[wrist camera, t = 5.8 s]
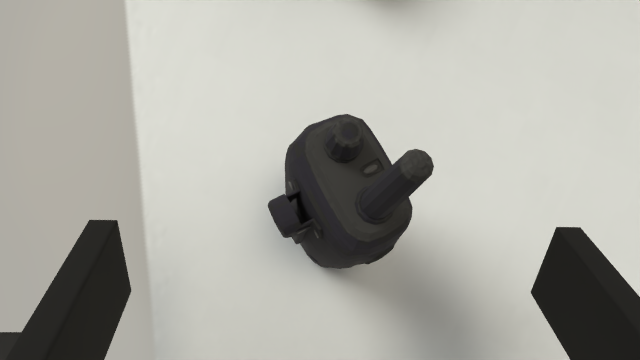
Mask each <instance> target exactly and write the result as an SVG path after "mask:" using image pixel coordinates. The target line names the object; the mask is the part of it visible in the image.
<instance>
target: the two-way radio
mask: <svg viewBox="0 0 640 360" xmlns="http://www.w3.org/2000/svg"><path fill="white" fill-rule="evenodd" d="M433 167H434V166H433V162H432V159H431V157H430V156H429V155H428V154H427V153H426V152H425V151H421V150H418V149H414V150H409V151H407V152H406V153H405V154H404V155H403V156H402V157H401V158H400V159H399V160H398V161H396V162H395V163H394V164H393V165H392V164H391V162H390V160H389V158H388V157H387V155H386V153H385V152H384V150H383V148H382V146H381V145H380V143H379V141H378V140H377V138H376V137H375V135H374V134H373V132H372V131H371V129H370V128H369V127H368V126H367V124H366V123H365V122H364V121H363V120H362V119H359V118H357V117H354V116H351V115H348V114H344V115H337V116H334V117H332V118H329V119H326V120H323V121H321V122H318V123H314V124H312V125H309V126H308V127H306V128H305V129H304V131H303V132H302V133H301V134H300V135H299V136H298V137H297V139H296V140H295V141H294V142H293V143H292V144H290V146H289V147H288V150H287V153H286V159H285V187H286V195H285V194H283V195H281V196H279V197H277V198H275V199H273V200H271V201H270V202H269V203H268V208H269V211H270V213H271V215H272V217H273V220H274V222H275V224H276V225H277V227H278V229H279V231H280V232H281V234H282V236H283V237H285V238H288V237H292V239H293V240H294V242H295V243H296V244H299V243H300V244H301V246H302V247H303V249H304V250H305V252H306V254H307V255H308V256H309V257H310V258H311V259H312V260H313V261H314V262H315V263H317V264H318V265H320V266H322V267H333V268H339V269H341V268H349V267H352V266H355V265H358V264H363V263H365V264H370V263H372V262H375V261H377V260H379V259H380V258H382V257H383V256H385V255H386V254H387V253H389V252H390V251H391V250H392V249H393V247H394V245H395V243H396V242H397V240H398V239H399V237H400V236H401V235H402V234H403V232H404V231H405V230H406V229H407V227H408V225H409V222H410V220H411V217H412V205H411V202H410V200H409V196H410V195H411V194H412V193H413V192H414V191H415V190H416V189H417V188H418V187H419V186H420V185H421V184H422V183H423V182H424V181H426V180H427V179H428V178H429V177H430V176H431V175H432V171H433Z"/></svg>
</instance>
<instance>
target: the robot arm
mask: <svg viewBox="0 0 640 360" xmlns="http://www.w3.org/2000/svg"><path fill="white" fill-rule="evenodd" d="M130 293H131V287H130V282H129V277H128V272H127V267H126V262H125V257H124V252H123V247H122V242H121V237H120V232H119V227H118V222H117V220H89V222H88V224H87V225H86V227H85V228H84V230H83V232H82V234H81V235H80V237H79V238H78V240H77V242H76V243H75V245H74V247H73V248H72V250H71V252H70V253H69V255H68V257H67V258H66V260H65V262H64V263H63V265H62V267H61V268H60V270H59V271H58V273H57V275H56V276H55V278H54V280H53V281H52V283H51V285H50V286H49V288H48V290H47V291H46V293H45V295H44V296H43V298H42V300H41V301H40V303H39V305H38V306H37V308H36V310H35V311H34V313H33V315H32V316H31V318H30V320H29V321H28V323H27V324H26V326H25V328H24V329H23V331H22V332H20V333H19V332H18V333H17V332H13V333H12V332H2V333H1V332H0V360H104V359H105V356H106V354H107V351H108V349H109V346H110V344H111V341H112V338H113V336H114V333H115V331H116V328H117V326H118V323H119V321H120V318H121V316H122V313H123V311H124V308H125V306H126V303H127V301H128V298H129V295H130ZM531 294H532V296H533V297H534V299H535V301H536V303H537V304H538V306H539V308H540V309H541V311H542V313H543V314H544V316H545V318H546V319H547V321H548V323H549V324H550V326H551V328H552V329H553V331H554V333H555V334H556V336H557V338H558V340H559V341H560V343H561V345H562V346H563V348H564V350H565V351H566V353H567V355H568V356H569V358H570V360H640V297H639V296H638V295H637V293H636V292H635V291H634V290H633V289H632V288H631V286H630V285H629V284H628V283H627V282H626V280H625V279H624V278H623V277H622V276H621V275H620V273H619V272H618V271H617V270H616V269H615V268H614V266H613V265H612V264H611V263H610V262H609V261H608V259H607V258H606V257H605V256H604V255H603V254H602V252H601V251H600V250H599V249H598V248H597V247H596V245H595V244H594V243H593V242H592V241H591V240H590V238H589V237H588V236H587V235H586V234H585V233H584V231H583V230H582V229H581V228H578V227H556V230H555V232H554V235H553V237H552V240H551V242H550V245H549V247H548V250H547V252H546V255H545V257H544V260H543V263H542V265H541V268H540V270H539V273H538V275H537V278H536V280H535V283H534V285H533V288H532V290H531Z"/></svg>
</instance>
